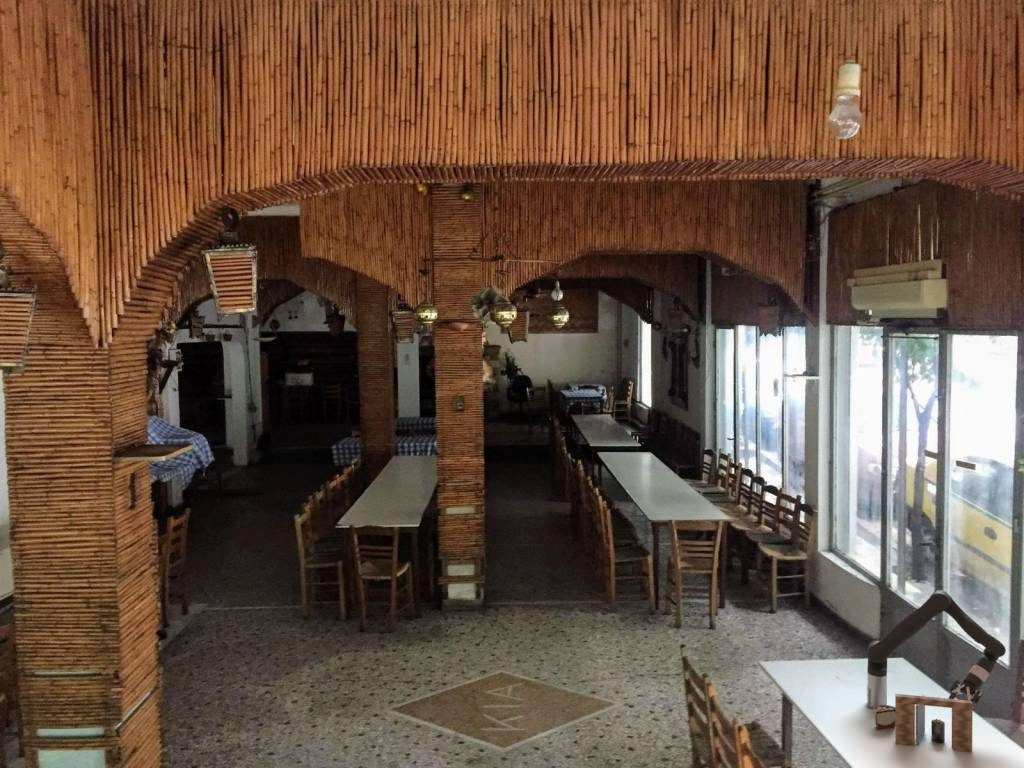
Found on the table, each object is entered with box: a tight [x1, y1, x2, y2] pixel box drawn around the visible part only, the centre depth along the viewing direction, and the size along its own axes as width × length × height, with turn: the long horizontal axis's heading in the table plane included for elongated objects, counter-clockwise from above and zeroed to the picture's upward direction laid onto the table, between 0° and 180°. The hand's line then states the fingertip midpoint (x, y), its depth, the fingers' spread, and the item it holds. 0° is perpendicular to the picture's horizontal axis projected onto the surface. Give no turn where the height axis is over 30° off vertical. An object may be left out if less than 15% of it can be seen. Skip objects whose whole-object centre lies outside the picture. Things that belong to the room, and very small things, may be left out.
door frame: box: [894, 693, 974, 753], centre depth 394 cm, size 32×3×23 cm, turn 73°
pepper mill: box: [930, 717, 946, 745], centre depth 400 cm, size 6×6×11 cm
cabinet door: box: [915, 694, 926, 745], centre depth 402 cm, size 14×3×18 cm, turn 143°
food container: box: [872, 704, 895, 732], centre depth 415 cm, size 12×6×10 cm, turn 102°
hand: (957, 704), depth 402 cm, fingers open, 8 cm apart
